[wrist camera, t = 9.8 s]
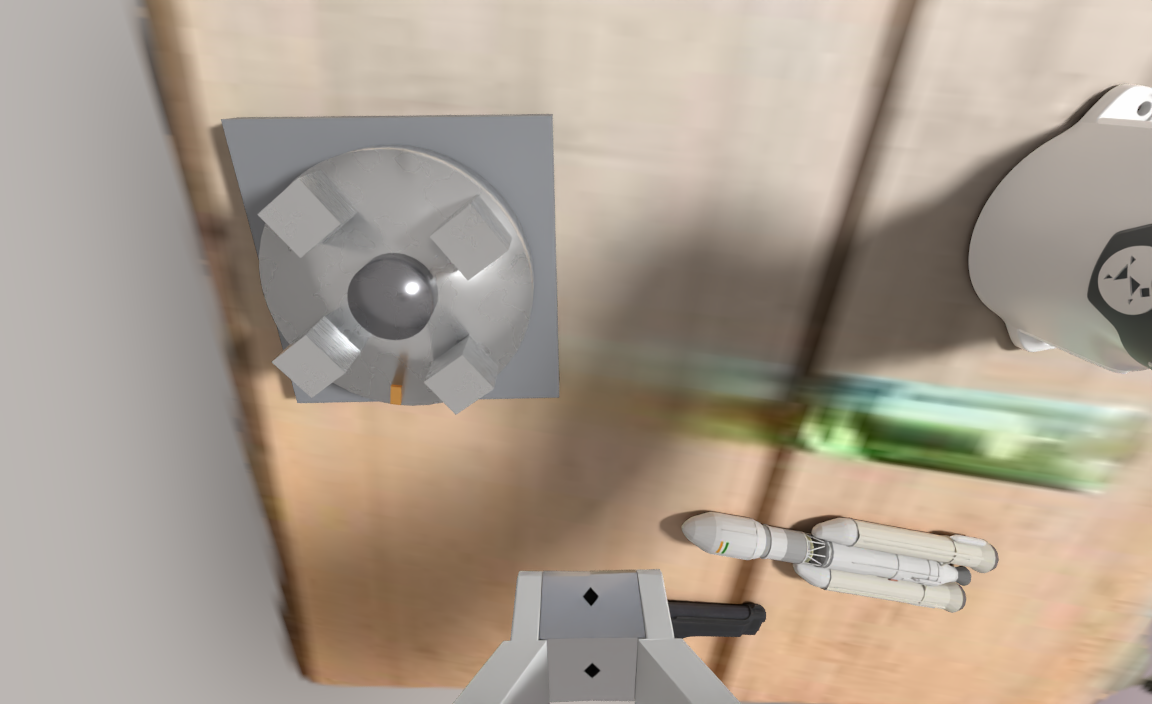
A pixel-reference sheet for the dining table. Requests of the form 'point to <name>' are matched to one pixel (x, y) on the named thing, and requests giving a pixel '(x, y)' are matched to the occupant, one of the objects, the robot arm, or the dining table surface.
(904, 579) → the rocket model
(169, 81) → the dining table surface
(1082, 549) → the dining table surface
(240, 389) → the dining table surface
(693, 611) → the handgun
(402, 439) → the dining table surface
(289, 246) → the domed disc mount
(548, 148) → the flat gray base plate
